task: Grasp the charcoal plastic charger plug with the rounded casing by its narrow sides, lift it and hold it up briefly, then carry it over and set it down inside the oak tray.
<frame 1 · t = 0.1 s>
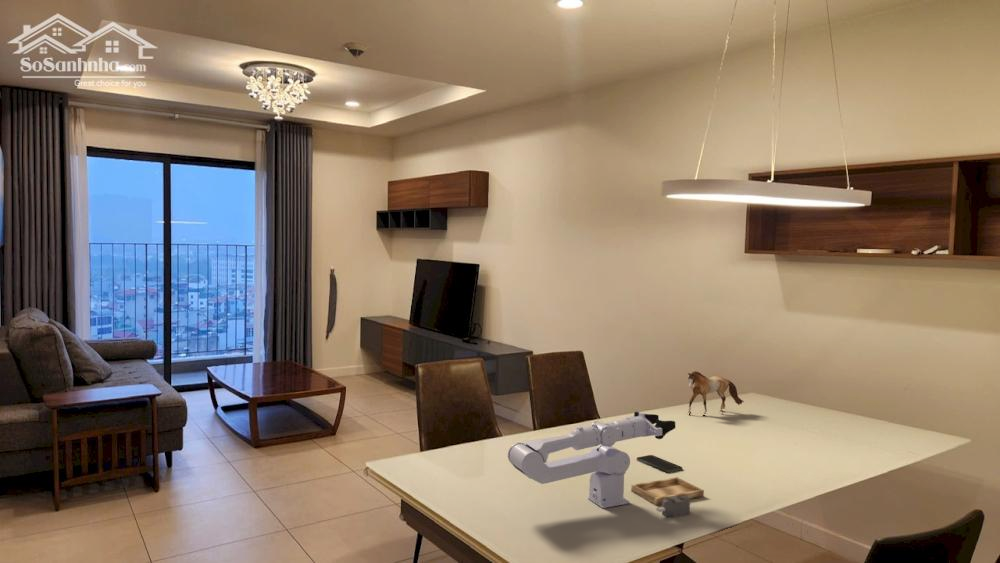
hand: (666, 421, 188), 22 cm above the table, tool horizontal, fingers open, 7 cm apart
oak tray: (667, 494, 187), on the table
phone: (659, 466, 213), on the table
horse figurine: (715, 416, 282), on the table
charger plug: (675, 513, 173), on the table
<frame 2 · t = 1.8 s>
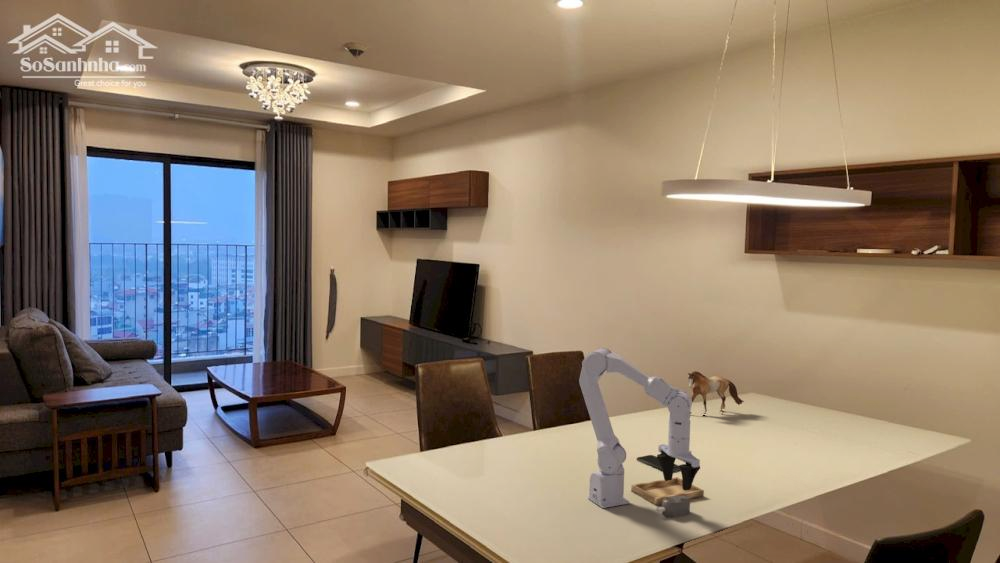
hand: (677, 484, 173), 8 cm above the table, tool pointing down, fingers open, 7 cm apart
nothing on the table moved.
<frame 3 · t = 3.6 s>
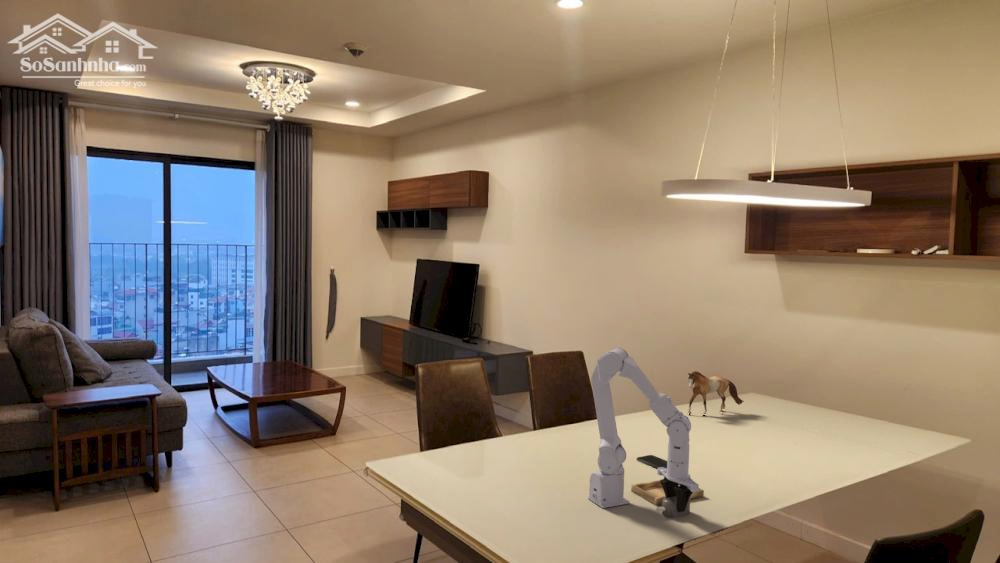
hand: (676, 508, 173), 1 cm above the table, tool pointing down, fingers closed on charger plug, 4 cm apart
charger plug: (675, 513, 173), on the table, touching gripper
everything else where it was.
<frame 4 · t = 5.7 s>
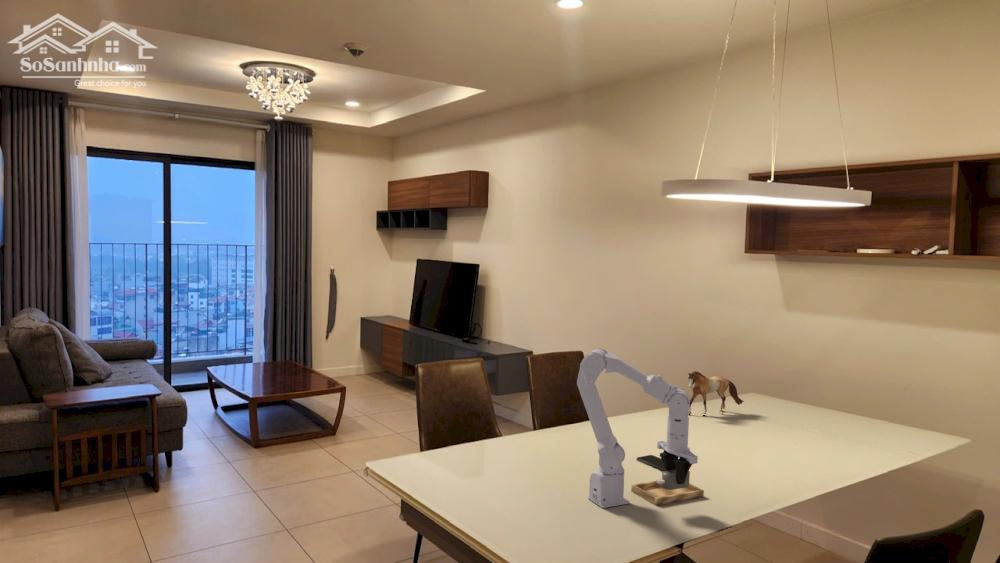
hand: (675, 481, 175), 8 cm above the table, tool pointing down, fingers closed on charger plug, 4 cm apart
charger plug: (675, 486, 175), point 7 cm above the table, touching gripper
everything else where it was.
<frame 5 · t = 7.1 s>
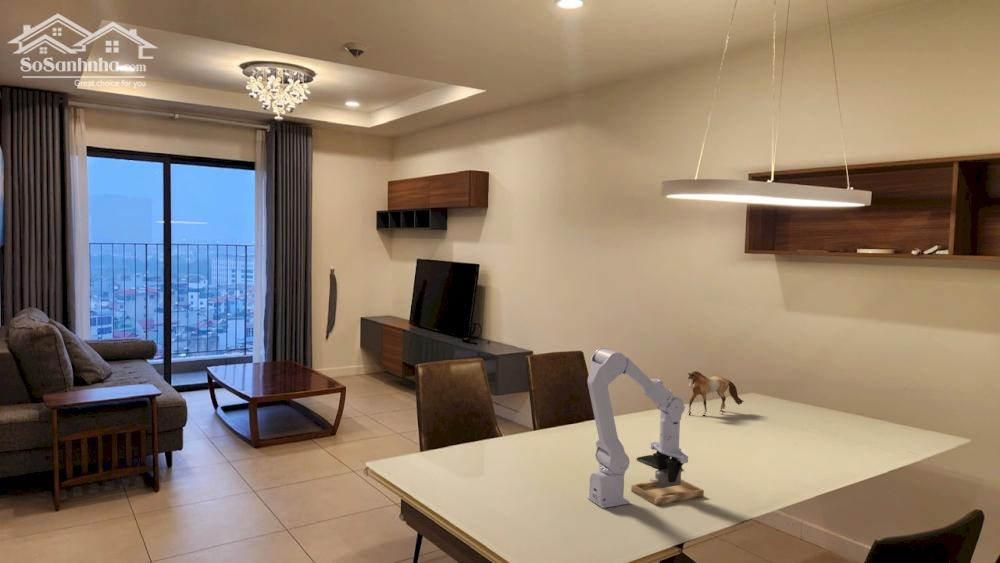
hand: (667, 479, 187), 4 cm above the table, tool pointing down, fingers closed on charger plug, 4 cm apart
charger plug: (667, 484, 187), point 3 cm above the table, touching gripper
everything else where it was.
when the fingers open (3 cm above the table, at t = 8.1 s): charger plug drops 1 cm, resting on oak tray.
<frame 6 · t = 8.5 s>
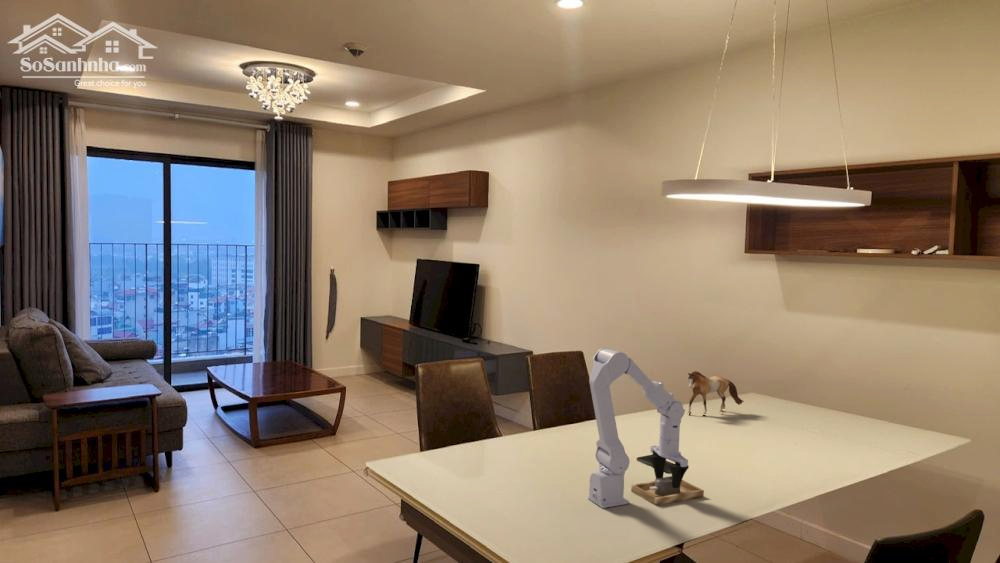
hand: (667, 482, 187), 3 cm above the table, tool pointing down, fingers open, 7 cm apart
charger plug: (667, 492, 187), resting on oak tray
everything else where it was.
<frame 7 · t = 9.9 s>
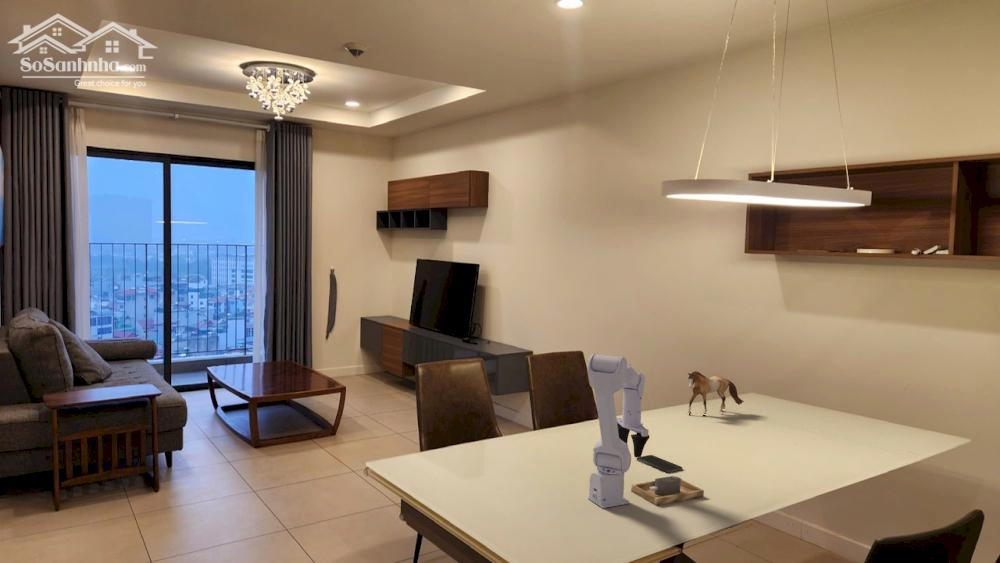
hand: (630, 453, 195), 9 cm above the table, tool pointing down, fingers open, 7 cm apart
nothing on the table moved.
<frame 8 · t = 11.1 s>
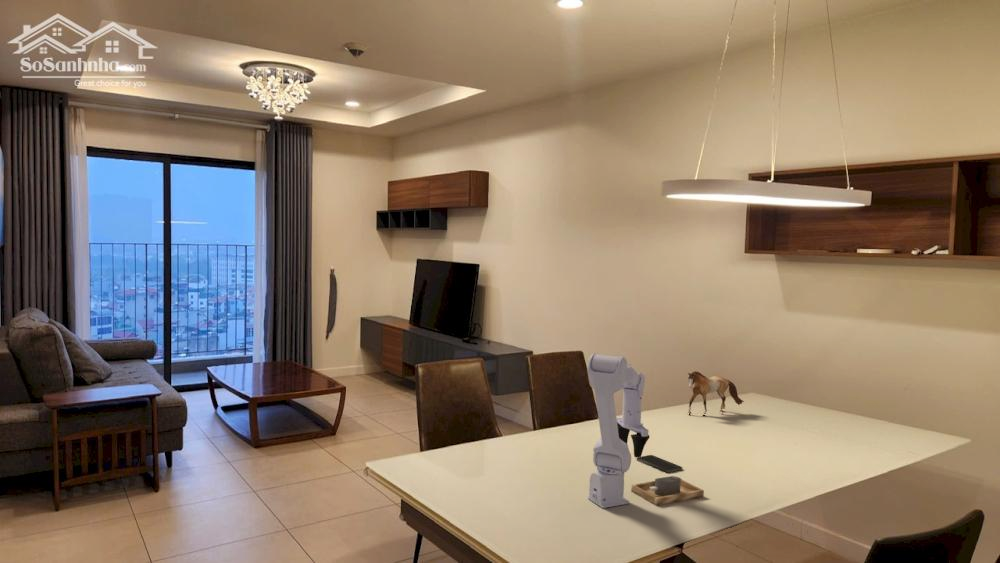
hand: (630, 453, 195), 9 cm above the table, tool pointing down, fingers open, 7 cm apart
nothing on the table moved.
at the end: charger plug inside the target area on the oak tray (0.1 cm from its centre), point 0.5 cm above the oak tray's base; charger plug tilted 0°; the gripper is holding nothing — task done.
